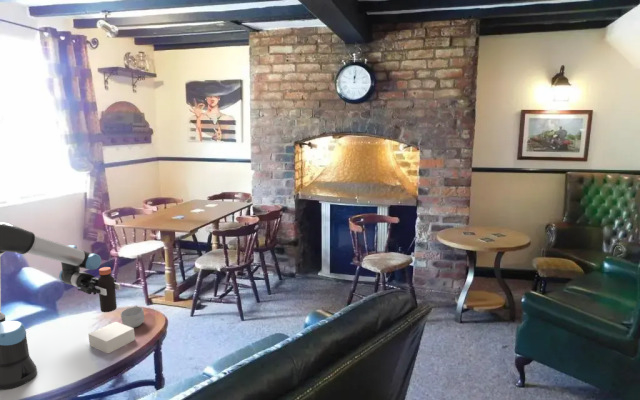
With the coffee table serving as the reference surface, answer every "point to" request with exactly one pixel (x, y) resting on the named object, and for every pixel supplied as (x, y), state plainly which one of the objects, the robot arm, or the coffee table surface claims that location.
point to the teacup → (133, 316)
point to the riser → (111, 337)
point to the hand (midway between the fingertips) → (112, 289)
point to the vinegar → (107, 290)
